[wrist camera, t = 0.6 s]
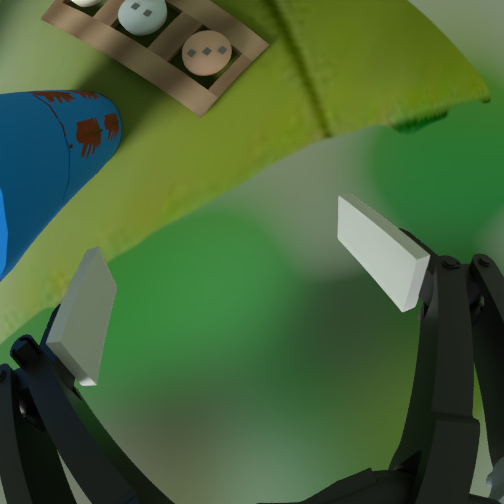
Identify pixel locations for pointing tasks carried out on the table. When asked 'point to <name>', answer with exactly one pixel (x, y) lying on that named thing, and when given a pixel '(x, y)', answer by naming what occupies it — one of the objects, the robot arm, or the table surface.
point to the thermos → (48, 159)
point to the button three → (206, 53)
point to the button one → (86, 2)
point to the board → (163, 45)
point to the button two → (142, 16)
